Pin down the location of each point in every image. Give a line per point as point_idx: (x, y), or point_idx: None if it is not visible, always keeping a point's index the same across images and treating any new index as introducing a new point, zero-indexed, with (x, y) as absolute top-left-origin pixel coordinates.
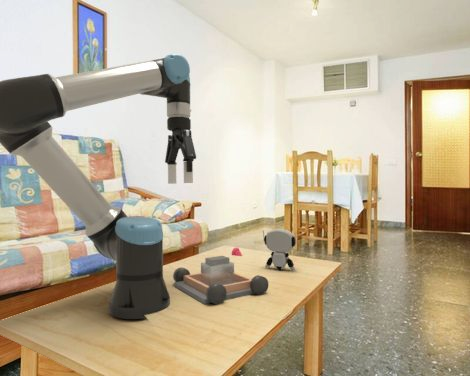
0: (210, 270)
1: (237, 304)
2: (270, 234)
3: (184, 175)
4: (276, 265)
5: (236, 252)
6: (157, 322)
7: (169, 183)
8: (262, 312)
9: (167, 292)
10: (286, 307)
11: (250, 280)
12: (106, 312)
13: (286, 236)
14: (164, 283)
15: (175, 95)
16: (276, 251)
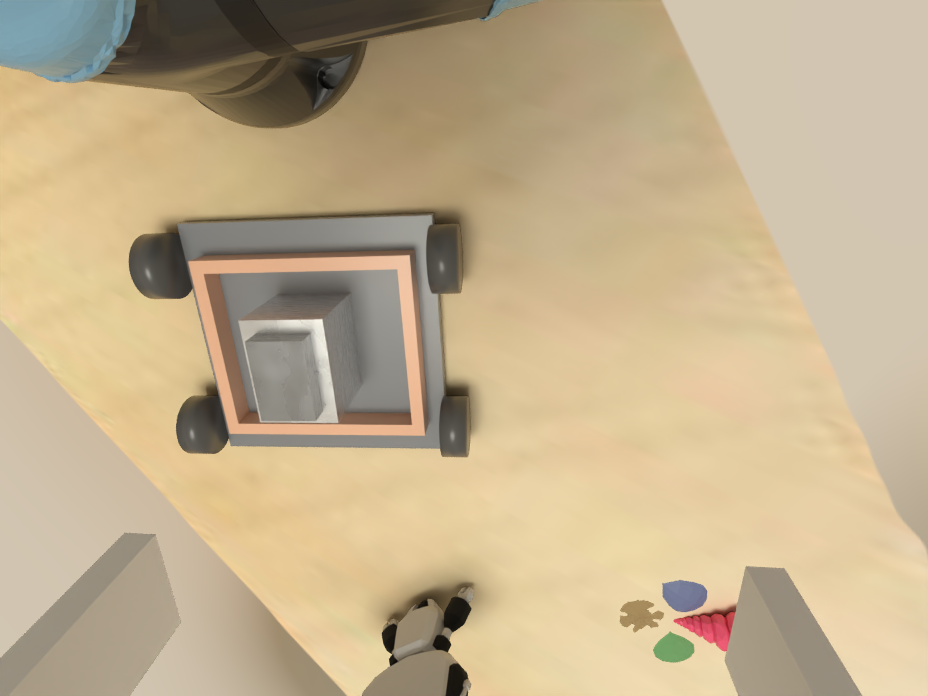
0: (246, 315)
1: (152, 306)
2: None
3: (50, 617)
4: (423, 607)
5: (722, 633)
6: None
7: (746, 575)
8: (71, 328)
9: (210, 107)
10: (88, 399)
11: (233, 420)
12: None
13: None
14: (194, 94)
15: None
16: (415, 654)
